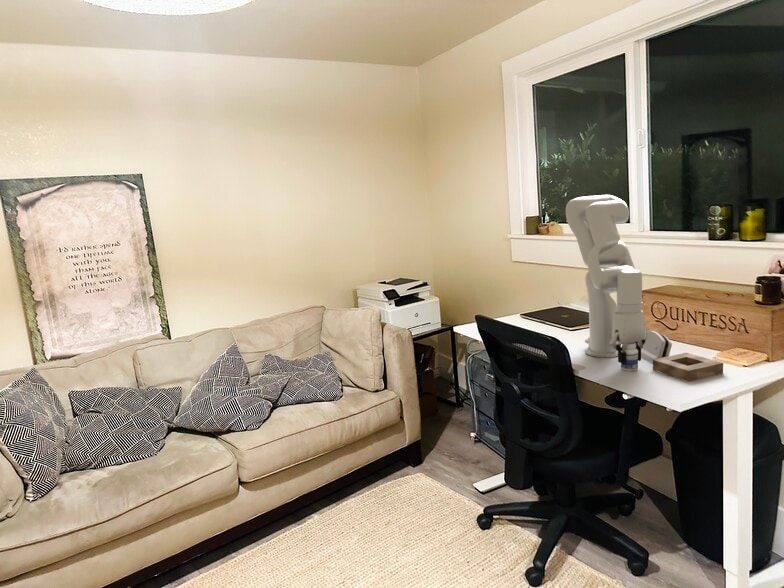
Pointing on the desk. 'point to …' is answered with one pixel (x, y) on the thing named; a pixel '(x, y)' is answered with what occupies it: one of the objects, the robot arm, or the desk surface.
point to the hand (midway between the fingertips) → (629, 360)
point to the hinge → (655, 346)
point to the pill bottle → (631, 357)
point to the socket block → (688, 366)
